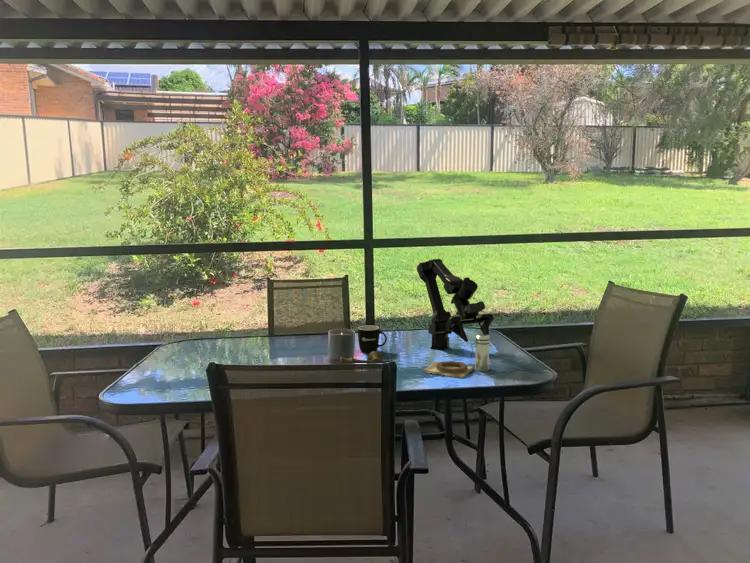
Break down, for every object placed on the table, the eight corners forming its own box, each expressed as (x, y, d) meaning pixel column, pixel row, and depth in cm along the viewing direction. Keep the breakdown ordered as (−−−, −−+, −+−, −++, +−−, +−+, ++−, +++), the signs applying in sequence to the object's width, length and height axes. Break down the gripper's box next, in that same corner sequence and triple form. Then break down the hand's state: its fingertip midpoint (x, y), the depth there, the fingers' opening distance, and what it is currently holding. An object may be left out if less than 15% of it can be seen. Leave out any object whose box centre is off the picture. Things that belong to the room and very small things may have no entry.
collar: (423, 372, 220) (423, 366, 219) (435, 364, 230) (435, 357, 230) (462, 378, 213) (462, 371, 213) (472, 369, 224) (473, 362, 223)
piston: (473, 370, 223) (474, 336, 221) (477, 366, 227) (478, 333, 225) (486, 372, 220) (487, 337, 218) (490, 368, 225) (491, 334, 223)
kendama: (340, 367, 229) (392, 364, 230) (340, 375, 219) (394, 373, 220) (339, 352, 228) (391, 349, 229) (339, 359, 218) (394, 357, 219)
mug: (357, 354, 244) (357, 330, 243) (358, 348, 253) (357, 325, 251) (387, 354, 244) (387, 330, 243) (386, 348, 253) (386, 325, 252)
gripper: (449, 295, 224) (464, 330, 216) (492, 292, 231) (508, 326, 223) (439, 312, 233) (453, 347, 224) (480, 309, 240) (495, 342, 231)
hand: (477, 340), depth 225 cm, fingers open, 9 cm apart
